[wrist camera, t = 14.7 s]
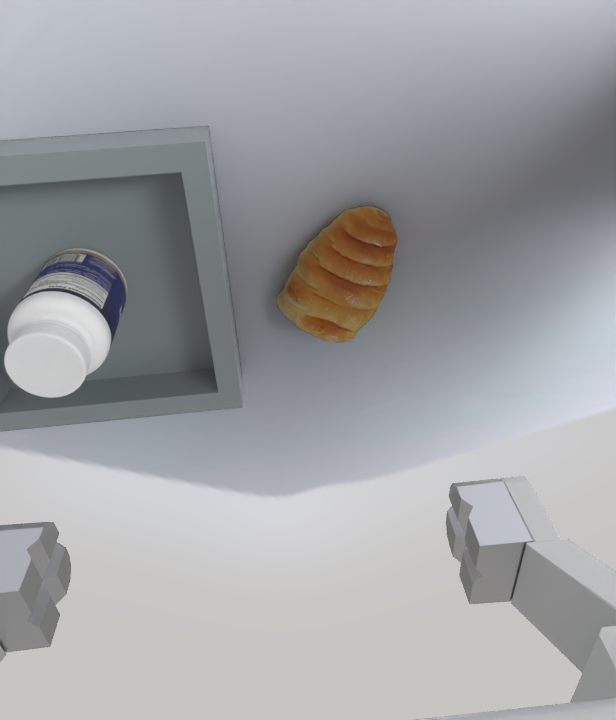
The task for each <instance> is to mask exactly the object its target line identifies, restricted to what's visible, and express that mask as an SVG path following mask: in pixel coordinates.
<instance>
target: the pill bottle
mask: <svg viewBox="0 0 616 720" xmlns="http://www.w3.org/2000/svg"><path fill="white" fill-rule="evenodd" d="M126 298H127V284H126V280H125V277H124V275H123V273H122V272H121V270H120V269H119V267H118V266H117V265H116V264H115V263H114V262H113V261H112V260H110V259H109V258H108V257H106V256H105V255H103V254H101V253H99V252H96V251H93V250H89V249H84V248H73V249H67V250H64V251H61V252H59V253H57V254H56V255H54V256H53V257H51V258H50V259H49V260H48V262H47V263H46V264H45V265H44V267H43V269H42V270H41V272H40V273H39V275H38V276H37V278H36V279H35V280H34V282H33V283H32V285H31V286H30V288H29V289H28V291H27V292H26V294H25V295H24V297H23V298H22V299H21V301H20V302H19V304H18V305H17V307H16V308H15V310H14V311H13V313H12V315H11V317H10V319H9V323H8V331H7V335H8V341H9V346H8V348H7V350H6V352H5V356H4V365H5V368H6V371H7V373H8V375H9V377H10V378H11V379H12V381H13V382H14V383H15V384H16V385H17V386H19V387H20V388H21V389H23V390H25V391H27V392H29V393H31V394H34V395H37V396H41V397H48V398H55V397H61V396H65V395H68V394H70V393H72V392H74V391H75V390H76V389H78V388H79V387H80V386H81V384H82V383H83V381H84V379H85V377H86V375H88V374H90V373H92V372H93V371H95V370H96V369H97V368H99V367H100V365H101V364H102V363H103V362H104V360H105V359H106V357H107V354H108V352H109V350H110V347H111V344H112V341H113V339H114V336H115V333H116V330H117V327H118V324H119V321H120V318H121V315H122V312H123V309H124V306H125V303H126Z"/></svg>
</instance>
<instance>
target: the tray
mask: <svg viewBox="0 0 616 720" xmlns="http://www.w3.org/2000/svg"><path fill="white" fill-rule="evenodd" d="M73 248H84V249H89V250H93V251H96V252H99V253H101V254H103V255H105V256H106V257H108V258H109V259H110V260H112V261H113V262H114V263H115V264H116V265H117V266H118V267H119V269H120V270H121V272H122V273H123V275H124V277H125V280H126V284H127V298H126V303H125V306H124V309H123V312H122V315H121V318H120V321H119V324H118V327H117V330H116V333H115V336H114V339H113V341H112V344H111V347H110V350H109V352H108V354H107V357H106V359H105V360H104V362H103V363H102V364H101V365H100V367H99V368H97V369H96V370H95V371H93V372H92V373H90V374H88V375H86V377H85V379H84V381H83V383H82V384H81V386H80V387H79V388H78V389H76V390H75V391H74V392H72V393H70V394H68V395H65V396H61V397H55V398H48V397H41V396H37V395H34V394H31V393H29V392H27V391H25V390H23V389H21V388H20V387H19V386H17V385H16V384H15V383H14V382H13V381H12V379H11V378H10V377H9V375H8V373H7V371H6V368H5V365H4V356H5V352H6V350H7V348H8V346H9V341H8V335H7V331H8V323H9V319H10V317H11V315H12V313H13V311H14V310H15V308H16V307H17V305H18V304H19V302H20V301H21V299H22V298H23V297H24V295H25V294H26V292H27V291H28V289H29V288H30V286H31V285H32V283H33V282H34V280H35V279H36V278H37V276H38V275H39V273H40V272H41V270H42V269H43V267H44V265H45V264H46V263H47V262H48V260H49V259H50V258H51V257H53V256H54V255H56V254H57V253H59V252H61V251H64V250H67V249H73ZM241 407H242V370H241V363H240V355H239V348H238V341H237V333H236V326H235V318H234V311H233V304H232V296H231V289H230V281H229V274H228V267H227V259H226V252H225V245H224V237H223V230H222V222H221V215H220V208H219V200H218V193H217V186H216V178H215V171H214V163H213V156H212V149H211V141H210V134H209V126H200V127H186V128H172V129H157V130H143V131H129V132H115V133H101V134H87V135H73V136H59V137H45V138H31V139H17V140H2V141H0V431H10V430H20V429H30V428H40V427H50V426H60V425H70V424H80V423H90V422H100V421H110V420H120V419H130V418H140V417H150V416H160V415H170V414H180V413H190V412H200V411H210V410H220V409H230V408H241Z"/></svg>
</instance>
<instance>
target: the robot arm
mask: <svg viewBox="0 0 616 720" xmlns="http://www.w3.org/2000/svg"><path fill="white" fill-rule="evenodd" d="M449 498H450V501H451V504H452V507H451V508H450V509H449V510H448V511H447V518H446V526H447V537H448V540H449V545H450V548H451V552H452V554H453V557H455V558H456V559H457V560H458V561H460V562H461V567H460V578H461V581H462V584H463V587H464V590H465V593H466V596H467V598H468V601H469V604H479V603H492V602H507V601H512V604H513V606H515V607H516V608H517V609H518V610H519V611H520V612H521V613H522V614H523V615H524V616H525V617H526V618H527V619H528V620H529V621H530V622H531V623H532V624H533V625H534V626H535V627H536V628H537V629H538V630H539V631H540V632H541V633H542V634H543V635H544V636H545V637H546V638H547V639H548V640H549V641H550V642H551V643H552V644H553V645H554V646H555V647H557V648H558V649H559V650H560V651H561V652H562V653H563V654H564V655H565V656H566V657H567V658H568V659H569V660H570V661H571V662H572V663H573V664H574V665H575V666H576V667H577V668H578V669H579V670H580V671H581V672H582V676H581V678H580V680H579V683H578V685H577V688H576V690H575V692H574V695H573V697H572V699H571V702H570V703H565V704H555V705H546V706H538V707H528V708H518V709H509V710H500V711H491V712H481V713H472V714H463V715H454V716H445V717H435V718H426V719H417V720H616V571H615V570H613V569H612V568H610V567H609V566H607V565H606V564H605V563H603V562H601V561H600V560H599V559H597V558H596V557H594V556H593V555H591V554H590V553H588V552H587V551H586V550H584V549H583V548H581V547H580V546H578V545H577V544H575V543H574V542H572V541H571V540H569V539H560V537H559V535H558V533H557V531H556V529H555V527H554V525H553V524H552V522H551V520H550V518H549V516H548V515H547V513H546V511H545V509H544V507H543V505H542V503H541V502H540V500H539V498H538V496H537V494H536V493H535V491H534V489H533V487H532V485H531V484H530V482H529V480H528V479H527V478H526V477H524V476H522V477H512V478H501V479H489V480H480V481H470V482H462V483H453V484H452V485H451V487H450V493H449ZM58 535H59V532H58V530H57V528H56V526H55V524H54V523H53V522H42V523H28V524H13V525H0V662H1V661H2V659H3V658H4V657H5V656H6V653H5V652H12V651H20V650H28V649H35V648H43V647H50V645H51V642H52V639H53V636H54V632H55V629H56V626H57V623H58V620H59V616H60V614H59V612H58V610H57V608H56V606H55V605H56V604H57V603H58V602H59V601H60V600H61V599H62V598H63V597H64V596H65V595H66V593H67V590H68V586H69V583H70V573H71V563H70V557H69V554H68V552H67V549H66V547H64V546H62V545H61V544H59V543H57V542H56V541H57V538H58Z"/></svg>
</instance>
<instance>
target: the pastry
mask: <svg viewBox="0 0 616 720" xmlns="http://www.w3.org/2000/svg"><path fill="white" fill-rule="evenodd" d="M396 243H397V237H396V234H395V230H394V228H393V226H392V223H391V218H390V217H389V215H388V214H387V213H386V212H384V211H382V210H381V209H379V208H376V207H371V206H363V207H357V208H353V209H348V210H344V211H343V212H342V213H341V214H340V215H339V216H338V217H337V218H336V219H335V220H333V222H332V223H331V224H330V225H329V226H328V227H326V228H324V229H322V230H321V232H320V233H319V235H318V236H317V237H316V238H314V239H313V240H311V241H310V242H309V243H308V246H307V247H306V248H305V249H304V250H303V251H302V252H301V254H300V255H299V257H298V259H297V266H296V267H295V268H294V269H293V271H292V272H291V274H290V275H289V277H288V279H287V281H286V284H285V286H284V288H283V290H282V291H281V292H280V293H279V294H278V296H277V298H276V304H277V306H278V308H279V309H280V310H281V312H282V313H283V314H284V315H285V316H286V317H287V318H288V319H289V320H292V321H293V322H294V323H295V324H296V325H297V326H298V327H299V328H300V329H302V330H304V331H305V332H307V333H309V334H311V335H313V336H315V337H317V338H320V339H322V340H324V341H334V342H346V341H348V340H351V339H353V338H354V336H355V334H356V332H357V331H358V330H359V329H360V328H361V327H362V326H363V325H364V324H365V323H366V322H367V321H368V320H370V319H371V317H372V316H373V315H374V314H375V312H376V309H377V307H378V305H379V302H380V300H381V299H382V298H383V296H384V294H385V292H386V287H387V285H388V283H389V281H390V273H391V270H392V267H393V263H392V261H393V253H394V249H395V246H396Z"/></svg>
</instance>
